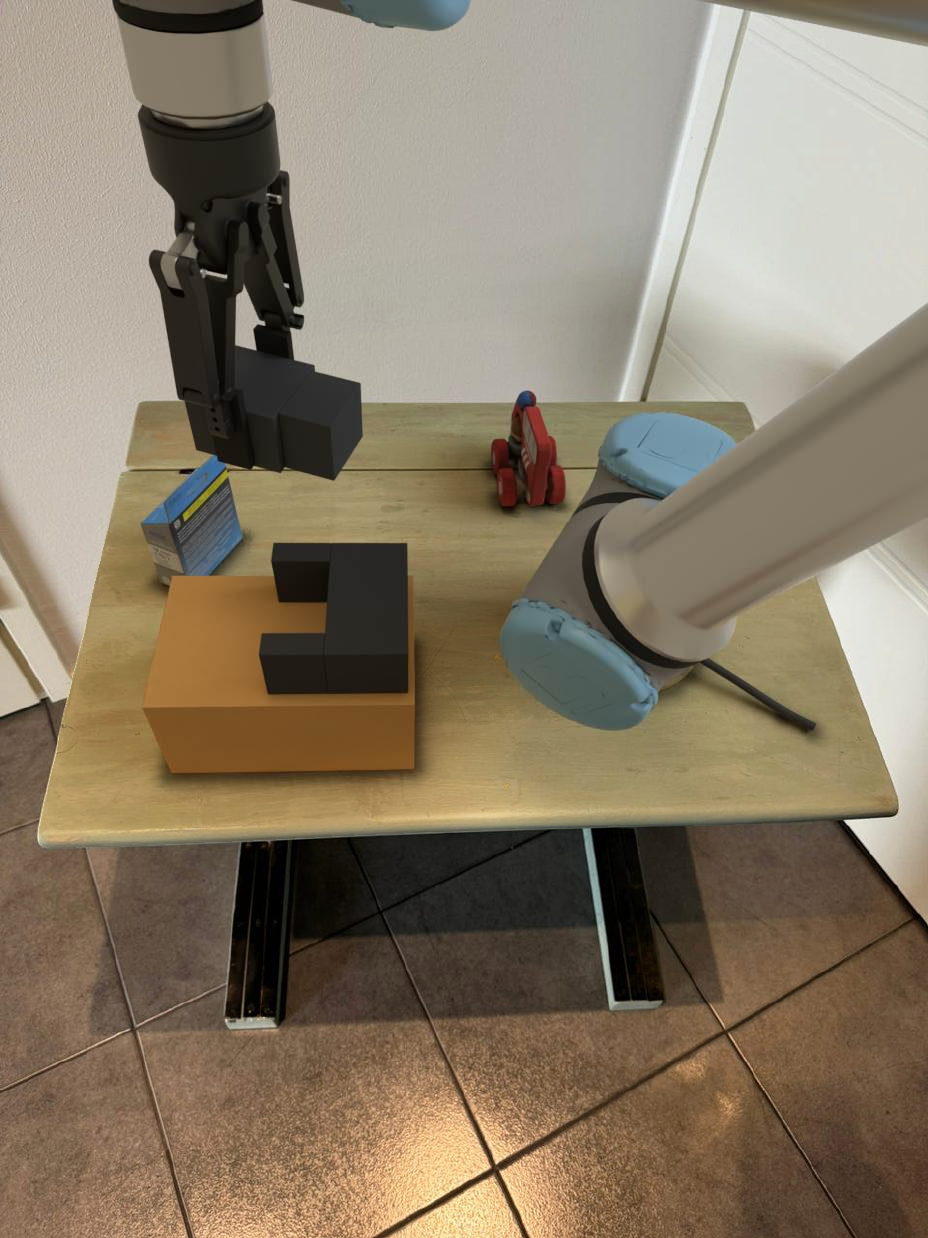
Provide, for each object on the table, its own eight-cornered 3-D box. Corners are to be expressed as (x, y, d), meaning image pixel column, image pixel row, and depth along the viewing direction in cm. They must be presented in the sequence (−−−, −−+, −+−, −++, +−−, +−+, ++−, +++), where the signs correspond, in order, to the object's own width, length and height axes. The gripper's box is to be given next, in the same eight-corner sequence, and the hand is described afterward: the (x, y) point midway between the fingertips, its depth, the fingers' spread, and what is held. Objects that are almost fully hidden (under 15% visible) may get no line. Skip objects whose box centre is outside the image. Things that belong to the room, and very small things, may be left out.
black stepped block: (366, 431, 66) (364, 377, 62) (330, 487, 61) (326, 433, 57) (239, 397, 67) (230, 343, 63) (195, 450, 63) (182, 395, 59)
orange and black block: (412, 646, 78) (413, 533, 67) (413, 769, 70) (415, 665, 59) (195, 647, 77) (158, 532, 65) (171, 773, 69) (123, 667, 57)
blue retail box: (212, 526, 87) (189, 431, 77) (244, 538, 86) (224, 444, 76) (159, 583, 82) (126, 488, 72) (192, 597, 81) (163, 503, 71)
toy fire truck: (544, 446, 98) (557, 370, 90) (565, 520, 90) (581, 444, 82) (486, 448, 97) (493, 371, 89) (502, 523, 89) (512, 447, 81)
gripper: (229, 36, 53) (273, 352, 71) (36, 158, 41) (147, 502, 59) (338, 56, 52) (355, 372, 70) (173, 188, 40) (244, 529, 58)
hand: (260, 431), depth 64 cm, fingers closed on black stepped block, 7 cm apart
